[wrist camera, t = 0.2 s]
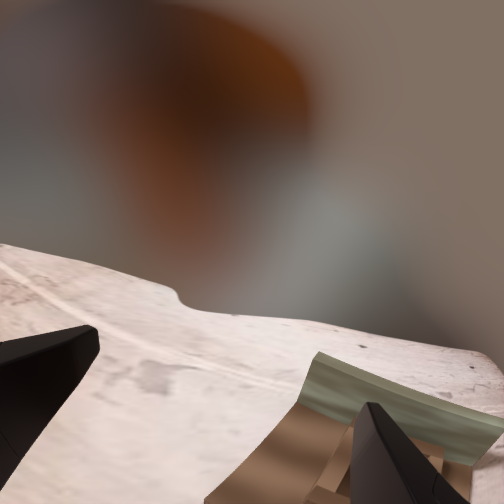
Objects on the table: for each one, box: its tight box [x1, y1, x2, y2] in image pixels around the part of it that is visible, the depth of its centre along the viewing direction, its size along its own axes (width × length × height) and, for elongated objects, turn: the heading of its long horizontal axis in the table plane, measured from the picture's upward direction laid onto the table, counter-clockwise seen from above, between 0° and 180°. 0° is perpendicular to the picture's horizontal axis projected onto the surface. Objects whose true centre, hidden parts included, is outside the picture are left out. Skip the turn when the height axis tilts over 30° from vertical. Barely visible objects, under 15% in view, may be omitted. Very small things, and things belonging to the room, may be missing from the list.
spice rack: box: [204, 352, 504, 504], centre depth 15 cm, size 16×22×7 cm
